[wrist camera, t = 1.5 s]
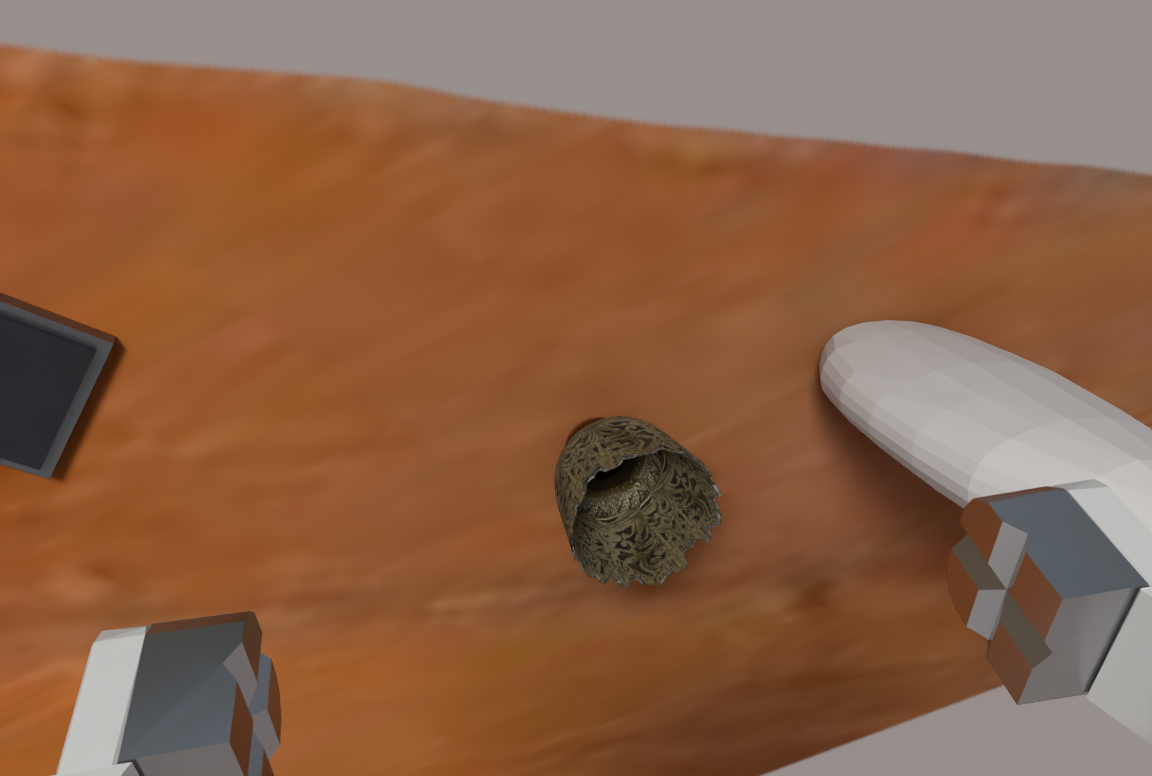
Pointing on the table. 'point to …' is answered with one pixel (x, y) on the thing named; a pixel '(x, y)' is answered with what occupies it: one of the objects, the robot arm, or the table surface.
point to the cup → (632, 500)
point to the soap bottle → (981, 415)
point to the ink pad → (43, 382)
